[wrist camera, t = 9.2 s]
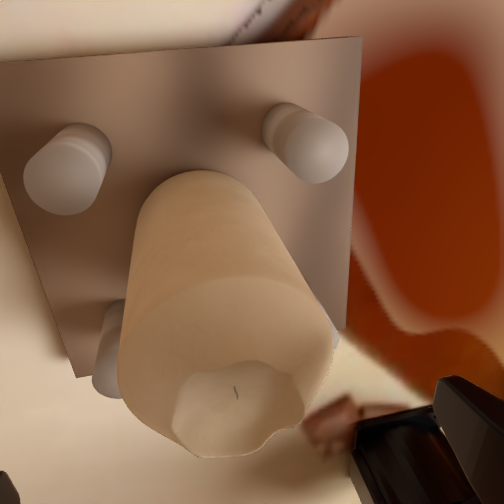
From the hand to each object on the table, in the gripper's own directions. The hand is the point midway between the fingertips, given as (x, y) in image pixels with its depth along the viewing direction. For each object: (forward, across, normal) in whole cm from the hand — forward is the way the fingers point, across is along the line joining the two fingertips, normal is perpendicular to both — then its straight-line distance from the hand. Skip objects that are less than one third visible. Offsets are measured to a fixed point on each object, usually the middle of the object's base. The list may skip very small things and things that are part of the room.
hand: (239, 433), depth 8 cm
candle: (+11, 0, 0) cm, 11 cm away
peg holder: (+12, 0, 0) cm, 12 cm away
